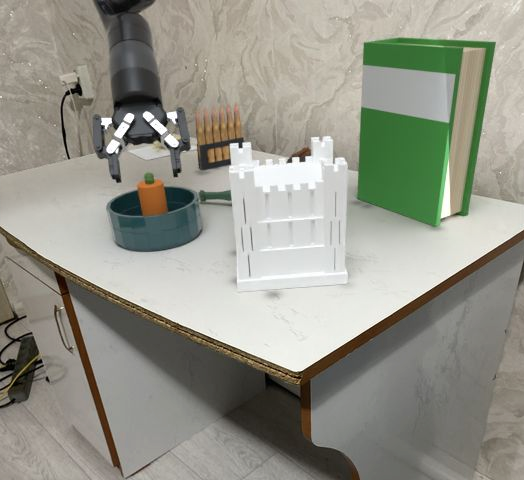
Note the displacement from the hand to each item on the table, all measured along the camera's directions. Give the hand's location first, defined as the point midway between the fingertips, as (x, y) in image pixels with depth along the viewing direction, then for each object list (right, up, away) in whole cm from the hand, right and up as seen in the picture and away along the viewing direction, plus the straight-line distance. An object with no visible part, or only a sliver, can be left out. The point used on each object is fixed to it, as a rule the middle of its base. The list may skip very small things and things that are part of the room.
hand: (147, 177), depth 80 cm
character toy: (-7, +23, +51) cm, 57 cm away
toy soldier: (+21, +3, +19) cm, 28 cm away
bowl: (+1, -7, +6) cm, 10 cm away
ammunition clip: (+9, +15, +37) cm, 41 cm away
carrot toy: (+1, -7, +6) cm, 9 cm away
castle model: (+21, -14, -6) cm, 26 cm away
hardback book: (+42, -2, +10) cm, 43 cm away
